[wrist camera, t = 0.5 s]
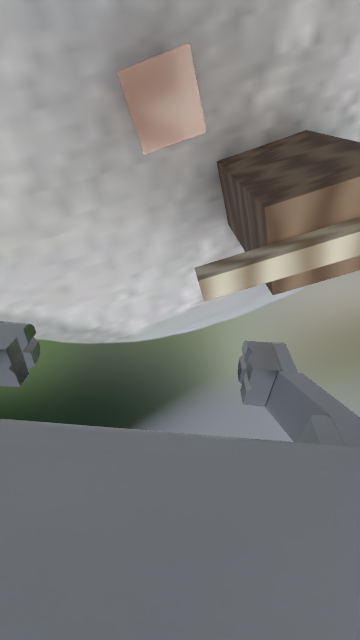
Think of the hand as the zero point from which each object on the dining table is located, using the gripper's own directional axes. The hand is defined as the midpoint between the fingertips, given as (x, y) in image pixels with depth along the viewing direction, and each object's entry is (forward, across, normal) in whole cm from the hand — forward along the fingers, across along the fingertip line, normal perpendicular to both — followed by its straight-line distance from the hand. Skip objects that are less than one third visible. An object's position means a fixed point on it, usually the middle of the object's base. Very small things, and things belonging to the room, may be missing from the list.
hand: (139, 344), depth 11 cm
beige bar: (+24, -14, +4) cm, 29 cm away
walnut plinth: (+51, -15, 0) cm, 53 cm away
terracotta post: (+47, +4, -10) cm, 48 cm away
